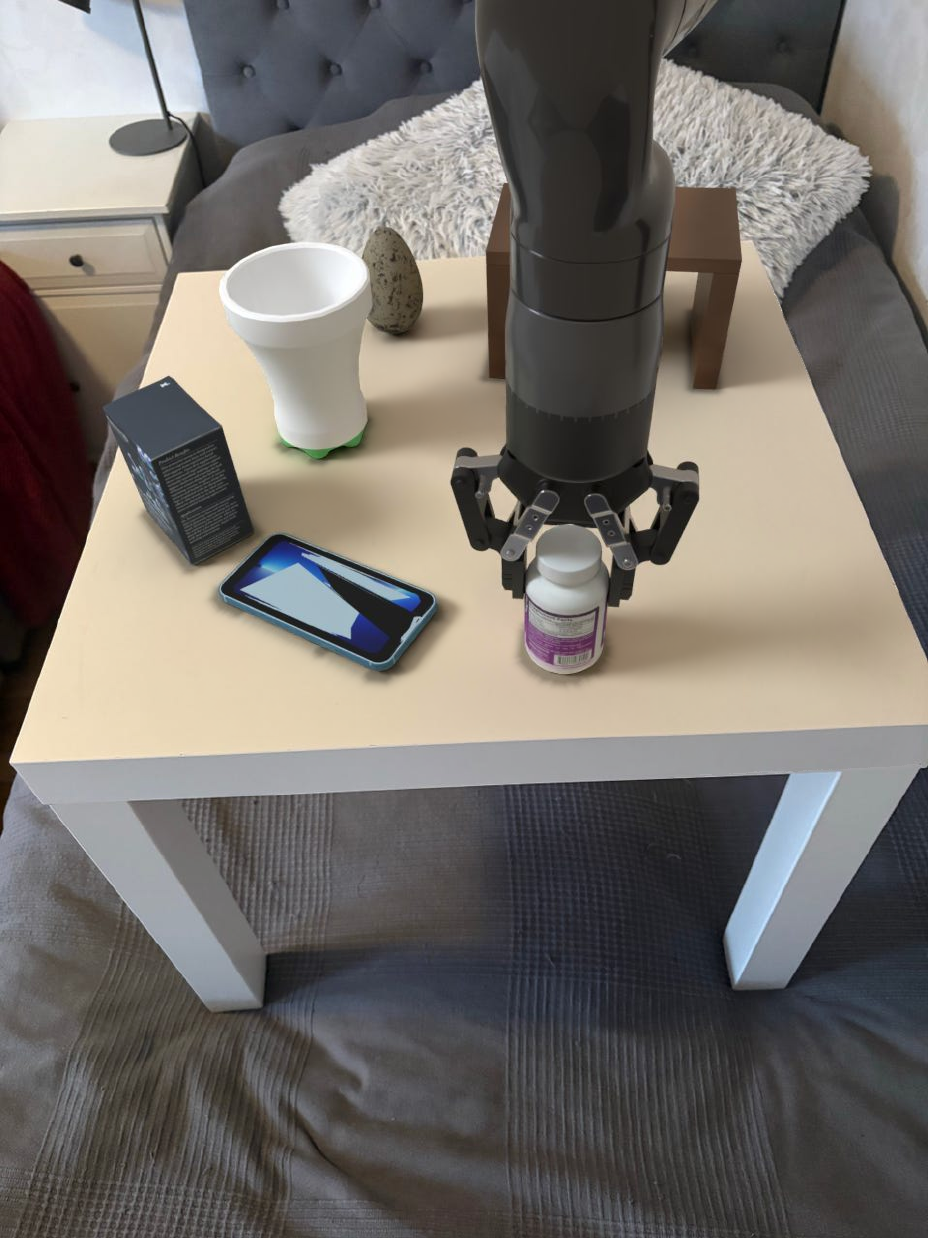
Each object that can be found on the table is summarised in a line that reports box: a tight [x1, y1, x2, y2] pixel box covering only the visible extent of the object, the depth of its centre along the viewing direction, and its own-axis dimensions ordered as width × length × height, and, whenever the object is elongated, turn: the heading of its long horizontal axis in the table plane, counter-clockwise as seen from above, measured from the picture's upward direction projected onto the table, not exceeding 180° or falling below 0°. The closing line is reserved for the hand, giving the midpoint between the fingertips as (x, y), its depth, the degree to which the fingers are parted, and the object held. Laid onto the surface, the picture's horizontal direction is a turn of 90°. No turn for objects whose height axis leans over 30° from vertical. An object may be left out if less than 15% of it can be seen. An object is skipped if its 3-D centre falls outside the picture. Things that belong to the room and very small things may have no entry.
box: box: [102, 375, 255, 565], centre depth 68 cm, size 8×6×11 cm
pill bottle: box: [523, 524, 610, 675], centre depth 59 cm, size 5×5×10 cm
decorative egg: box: [361, 226, 424, 335], centre depth 84 cm, size 6×6×10 cm
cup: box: [218, 241, 373, 459], centre depth 73 cm, size 11×11×14 cm
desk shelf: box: [485, 182, 743, 390], centre depth 80 cm, size 20×12×12 cm, turn 82°
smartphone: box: [218, 532, 438, 671], centre depth 65 cm, size 7×1×15 cm
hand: (566, 592), depth 58 cm, fingers closed on pill bottle, 5 cm apart
